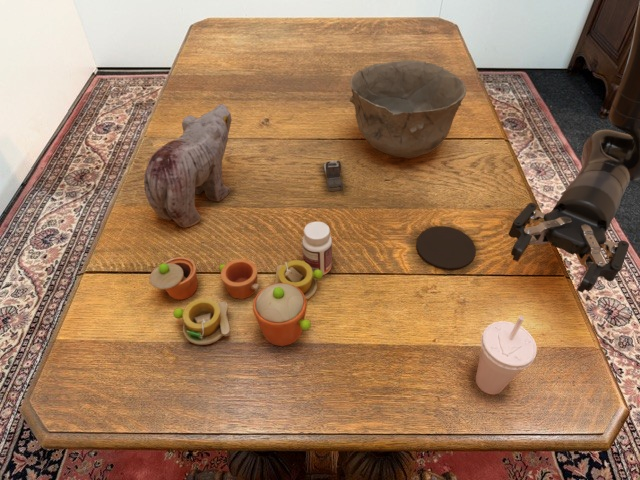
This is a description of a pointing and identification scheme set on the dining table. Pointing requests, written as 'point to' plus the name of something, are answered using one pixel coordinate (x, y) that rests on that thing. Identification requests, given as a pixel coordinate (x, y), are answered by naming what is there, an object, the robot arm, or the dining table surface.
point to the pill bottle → (317, 246)
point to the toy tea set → (241, 282)
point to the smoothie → (503, 354)
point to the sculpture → (189, 167)
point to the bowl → (406, 105)
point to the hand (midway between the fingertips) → (548, 271)
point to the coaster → (445, 248)
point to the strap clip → (333, 175)
